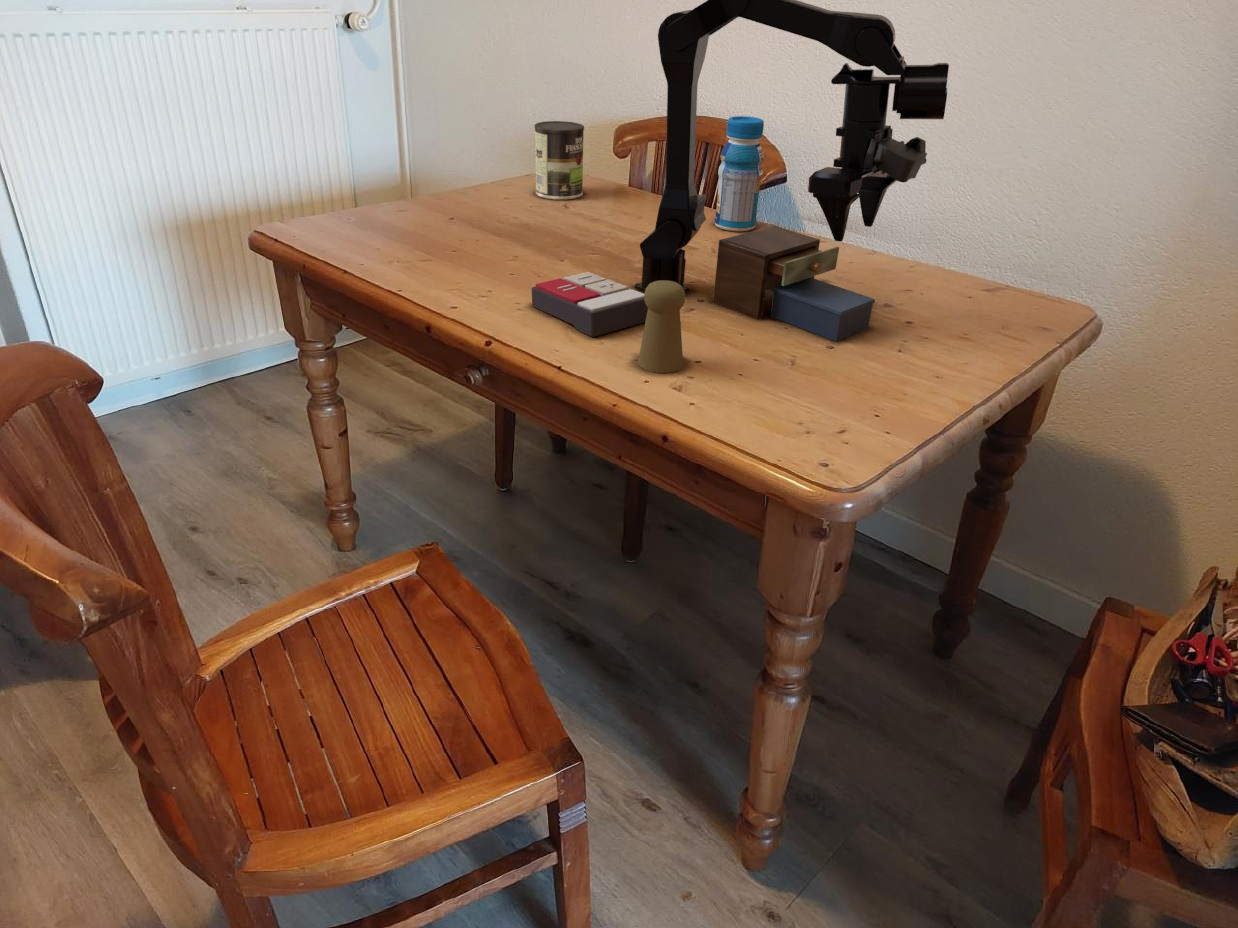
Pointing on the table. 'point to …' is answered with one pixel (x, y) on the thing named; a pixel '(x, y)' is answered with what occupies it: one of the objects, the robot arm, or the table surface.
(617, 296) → the calculator
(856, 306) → the storage box
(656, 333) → the olive pawn
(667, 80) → the robot arm
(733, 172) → the beverage bottle
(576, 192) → the coffee can
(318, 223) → the table surface
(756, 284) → the drawer unit
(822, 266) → the drawer
